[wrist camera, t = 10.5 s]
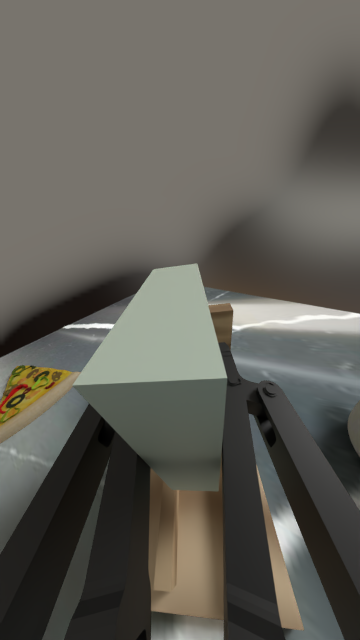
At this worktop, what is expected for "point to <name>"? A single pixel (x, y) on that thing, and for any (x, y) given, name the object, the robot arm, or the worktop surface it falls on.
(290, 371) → the worktop surface
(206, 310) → the pale green block
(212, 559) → the track
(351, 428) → the teacup
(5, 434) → the pizza slice
